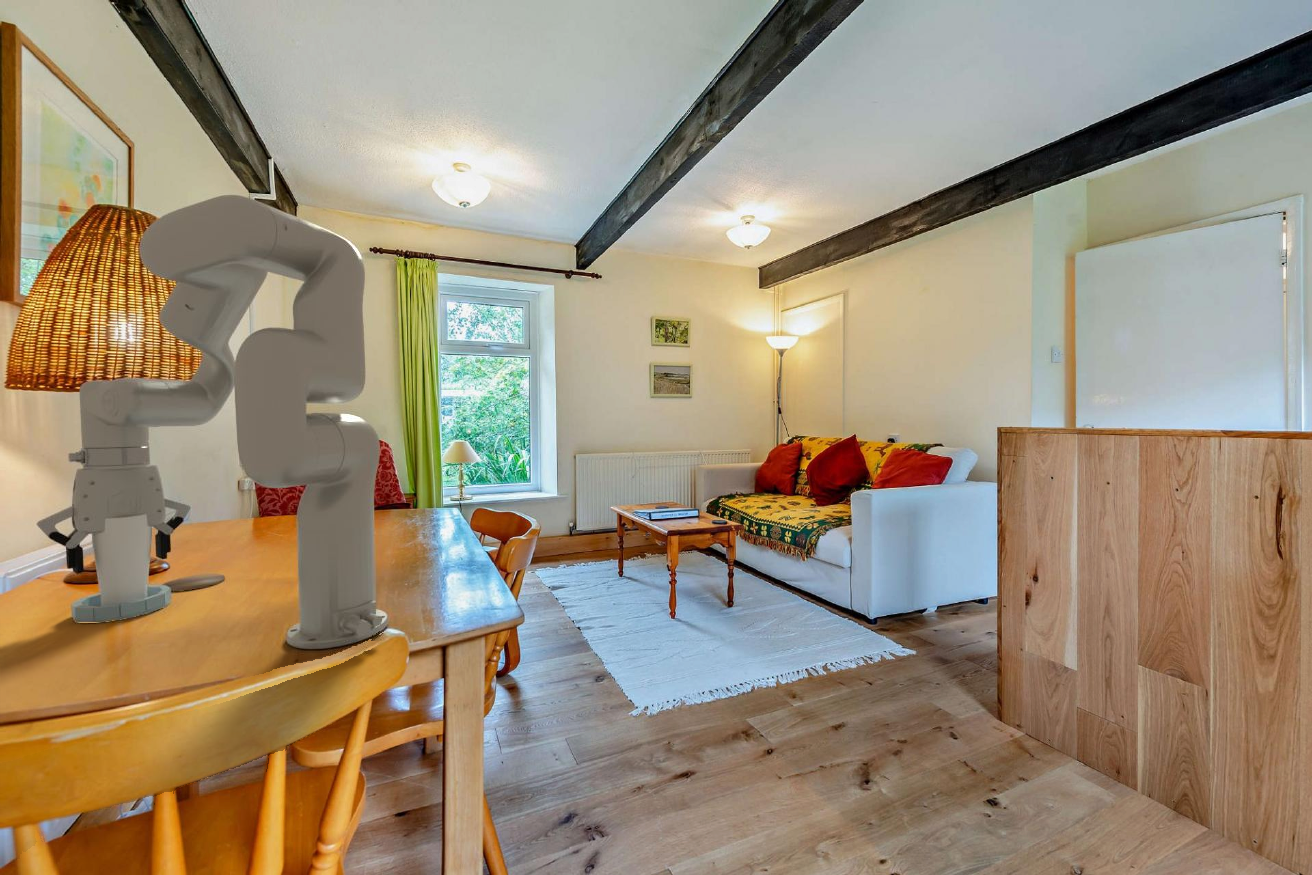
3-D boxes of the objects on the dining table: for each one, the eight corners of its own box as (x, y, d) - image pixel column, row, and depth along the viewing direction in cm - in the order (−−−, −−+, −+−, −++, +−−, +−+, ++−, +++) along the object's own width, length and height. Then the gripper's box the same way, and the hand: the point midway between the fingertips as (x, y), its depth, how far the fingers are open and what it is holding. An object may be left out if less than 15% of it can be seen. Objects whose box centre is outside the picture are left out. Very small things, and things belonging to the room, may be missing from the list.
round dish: (179, 606, 87) (179, 592, 87) (82, 629, 78) (81, 613, 78) (158, 594, 93) (158, 581, 93) (66, 614, 84) (65, 599, 84)
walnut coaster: (232, 581, 100) (232, 579, 100) (169, 595, 93) (169, 592, 93) (214, 573, 105) (214, 571, 105) (154, 585, 98) (154, 583, 98)
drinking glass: (83, 611, 83) (80, 516, 82) (136, 596, 90) (134, 509, 89) (111, 616, 81) (109, 519, 80) (164, 601, 88) (161, 512, 87)
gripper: (39, 463, 75) (44, 582, 76) (194, 456, 90) (198, 556, 90) (29, 461, 79) (35, 574, 80) (179, 454, 94) (183, 550, 94)
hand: (121, 564), depth 85 cm, fingers open, 9 cm apart
